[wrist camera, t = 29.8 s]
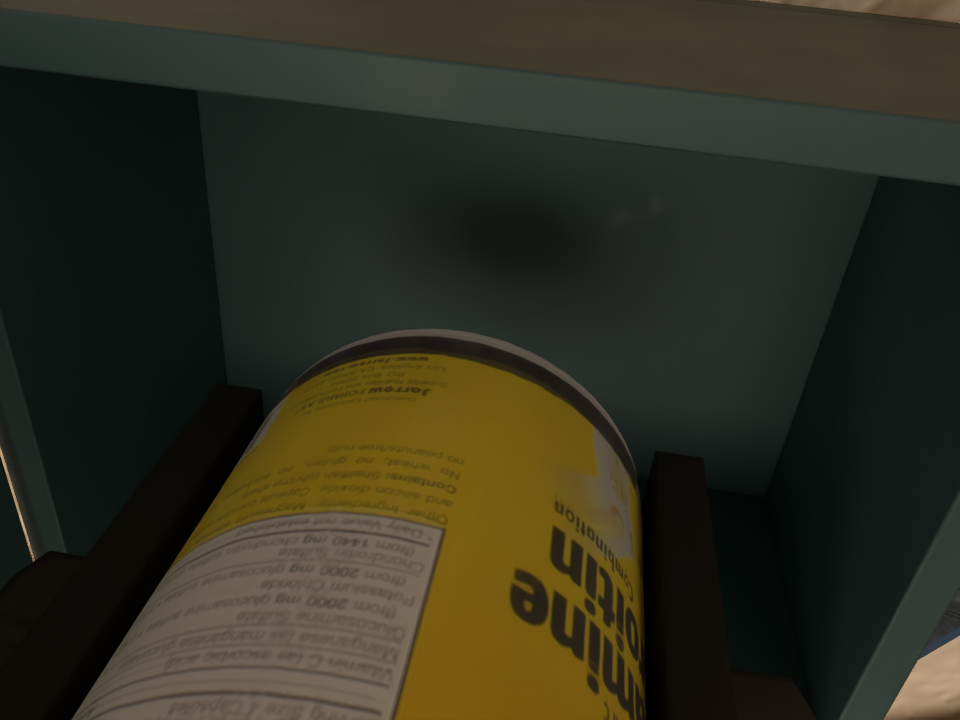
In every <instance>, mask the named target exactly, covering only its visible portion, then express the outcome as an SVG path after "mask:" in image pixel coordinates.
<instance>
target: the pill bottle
mask: <svg viewBox="0 0 960 720" xmlns="http://www.w3.org/2000/svg"><path fill="white" fill-rule="evenodd" d="M72 720H647V714H646V674H645V618H644V585H643V523H642V509H641V494H640V488H639V483H638V478H637V473H636V469H635V466H634V463H633V460H632V457H631V454H630V452H629V449H628V447H627V445H626V443H625V440H624V439H623V437H622V435H621V434H620V432H619V430H618V428H617V427H616V425H615V424H614V422H613V421H612V419H611V418H610V416H609V415H608V413H607V412H606V411H605V410H604V409H603V407H602V406H601V405H600V404H599V403H598V401H597V400H596V399H595V398H594V397H593V396H592V395H591V394H590V393H589V392H588V391H587V390H586V389H585V388H584V387H583V386H581V385H580V384H579V383H578V382H577V381H575V380H574V379H573V378H572V377H571V376H569V375H568V374H567V373H565V372H564V371H562V370H561V369H559V368H558V367H556V366H555V365H553V364H552V363H550V362H549V361H547V360H545V359H543V358H541V357H539V356H538V355H536V354H534V353H532V352H530V351H527V350H525V349H523V348H520V347H518V346H516V345H513V344H511V343H509V342H506V341H503V340H499V339H496V338H493V337H488V336H484V335H480V334H476V333H472V332H465V331H457V330H449V329H411V330H399V331H393V332H387V333H383V334H379V335H375V336H371V337H368V338H364V339H361V340H358V341H355V342H353V343H351V344H348V345H346V346H344V347H342V348H340V349H338V350H336V351H334V352H332V353H330V354H329V355H327V356H325V357H324V358H322V359H321V360H319V361H318V362H316V363H315V364H314V365H312V366H311V367H310V368H308V369H307V370H306V371H305V372H304V373H303V374H302V375H300V376H299V377H298V378H297V379H296V380H295V381H294V382H293V383H292V385H291V386H290V387H289V388H288V389H287V390H286V391H285V393H284V394H283V395H282V397H281V398H280V400H279V401H278V402H277V403H276V404H275V406H274V407H273V408H272V410H271V411H270V413H269V414H268V416H267V417H266V419H265V420H264V422H263V424H262V425H261V427H260V428H259V430H258V431H257V433H256V434H255V436H254V438H253V439H252V441H251V442H250V444H249V446H248V447H247V449H246V450H245V452H244V453H243V455H242V457H241V458H240V460H239V461H238V463H237V465H236V466H235V468H234V469H233V471H232V472H231V474H230V476H229V477H228V479H227V480H226V482H225V484H224V485H223V487H222V488H221V490H220V492H219V493H218V495H217V496H216V498H215V499H214V501H213V502H212V504H211V506H210V507H209V509H208V510H207V512H206V513H205V515H204V516H203V518H202V519H201V521H200V522H199V524H198V525H197V527H196V528H195V530H194V531H193V533H192V534H191V536H190V538H189V539H188V541H187V542H186V544H185V545H184V547H183V548H182V550H181V551H180V553H179V554H178V556H177V557H176V559H175V560H174V562H173V563H172V565H171V567H170V568H169V570H168V571H167V573H166V574H165V576H164V577H163V579H162V580H161V582H160V583H159V585H158V587H157V588H156V590H155V591H154V593H153V594H152V596H151V597H150V599H149V600H148V602H147V603H146V605H145V607H144V608H143V610H142V611H141V613H140V614H139V616H138V617H137V619H136V621H135V622H134V624H133V625H132V627H131V628H130V630H129V631H128V633H127V634H126V636H125V638H124V639H123V641H122V642H121V644H120V645H119V647H118V648H117V650H116V652H115V653H114V655H113V656H112V658H111V659H110V661H109V662H108V664H107V665H106V667H105V669H104V670H103V672H102V673H101V675H100V676H99V678H98V679H97V681H96V682H95V684H94V686H93V687H92V689H91V690H90V692H89V693H88V695H87V696H86V698H85V700H84V701H83V703H82V704H81V706H80V707H79V709H78V710H77V712H76V713H75V715H74V717H73V718H72Z"/></svg>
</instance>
